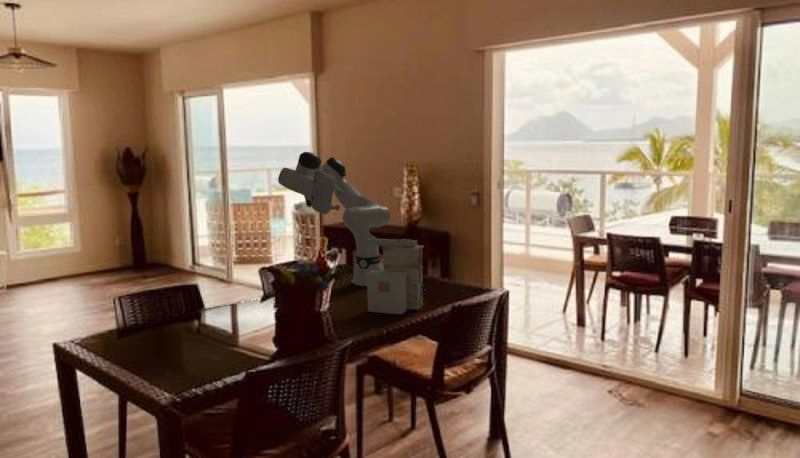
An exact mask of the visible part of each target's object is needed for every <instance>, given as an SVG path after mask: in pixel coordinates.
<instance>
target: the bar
mask: <svg viewBox="0 0 800 458" xmlns="http://www.w3.org/2000/svg"><path fill="white" fill-rule="evenodd" d="M366 245H372V246H379V247H383V246H395V247H417V245H418V240H417V239H415V240H414V239H411V238H410V239H409V238H407V239H406V238H401V239H393V238H377V239H366Z"/></svg>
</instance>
